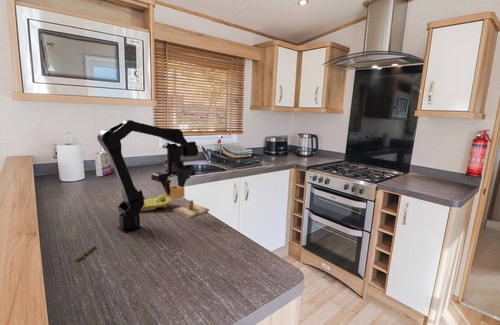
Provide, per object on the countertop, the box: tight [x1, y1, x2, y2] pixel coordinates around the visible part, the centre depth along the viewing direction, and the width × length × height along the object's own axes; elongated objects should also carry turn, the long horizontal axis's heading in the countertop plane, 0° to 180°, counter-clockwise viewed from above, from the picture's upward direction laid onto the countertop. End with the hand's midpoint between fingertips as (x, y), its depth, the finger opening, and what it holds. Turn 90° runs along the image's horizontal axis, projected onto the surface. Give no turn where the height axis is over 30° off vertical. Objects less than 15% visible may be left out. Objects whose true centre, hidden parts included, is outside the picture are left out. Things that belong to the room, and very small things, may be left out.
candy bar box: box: [94, 150, 112, 177], centre depth 188 cm, size 11×5×16 cm, turn 179°
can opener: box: [74, 245, 97, 263], centre depth 84 cm, size 9×2×1 cm, turn 170°
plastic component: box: [140, 194, 173, 212], centre depth 129 cm, size 20×7×10 cm
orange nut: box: [163, 184, 185, 200], centre depth 116 cm, size 6×6×4 cm
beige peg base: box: [172, 199, 210, 219], centre depth 126 cm, size 12×12×5 cm
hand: (174, 193), depth 116 cm, fingers closed on orange nut, 6 cm apart
